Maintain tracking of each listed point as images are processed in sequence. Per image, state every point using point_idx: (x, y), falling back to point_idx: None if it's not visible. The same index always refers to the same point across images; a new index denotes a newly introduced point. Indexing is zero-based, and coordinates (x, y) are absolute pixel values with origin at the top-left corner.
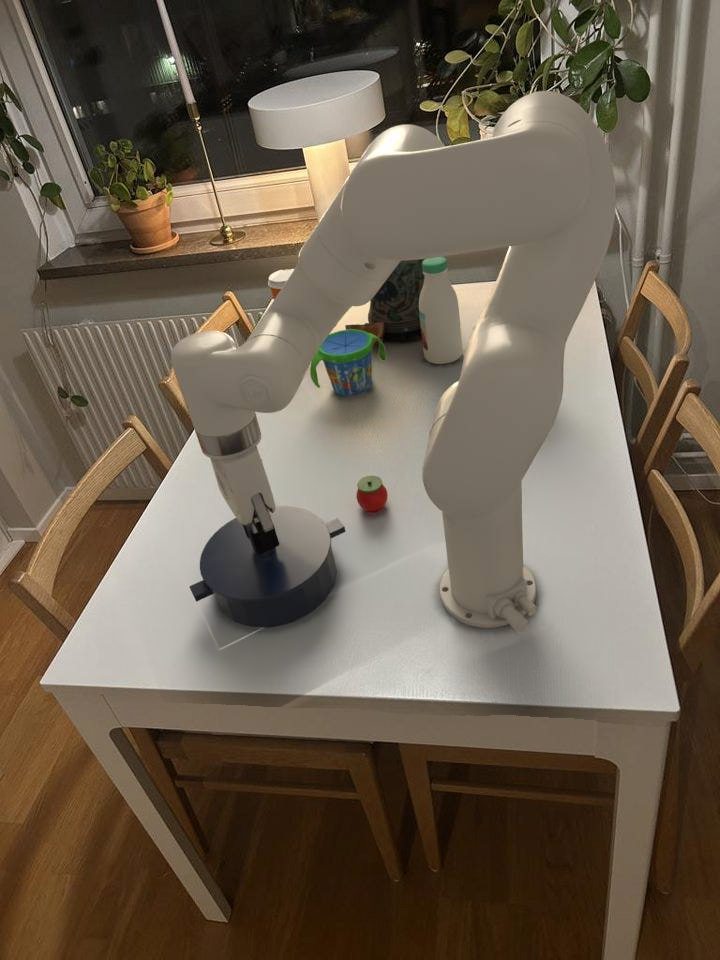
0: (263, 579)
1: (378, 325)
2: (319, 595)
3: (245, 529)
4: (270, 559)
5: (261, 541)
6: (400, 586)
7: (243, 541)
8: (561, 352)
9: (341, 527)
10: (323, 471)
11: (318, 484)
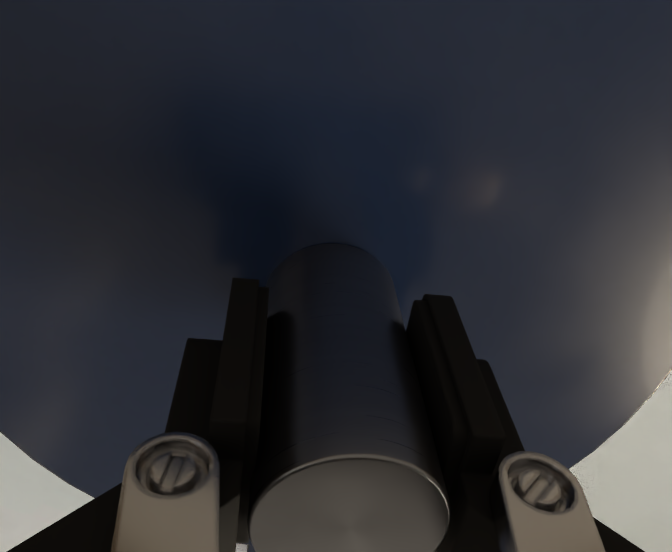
0: (80, 182)
1: None
2: None
3: (443, 346)
4: (225, 287)
5: (177, 392)
6: (9, 472)
7: (496, 239)
8: None
9: (252, 549)
10: (664, 537)
11: (630, 505)
